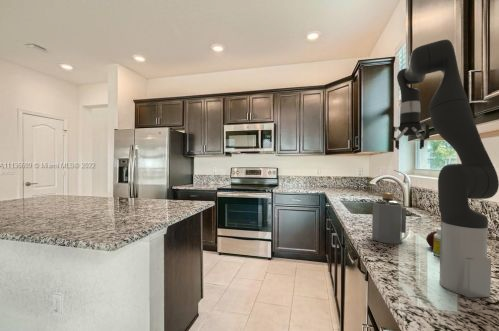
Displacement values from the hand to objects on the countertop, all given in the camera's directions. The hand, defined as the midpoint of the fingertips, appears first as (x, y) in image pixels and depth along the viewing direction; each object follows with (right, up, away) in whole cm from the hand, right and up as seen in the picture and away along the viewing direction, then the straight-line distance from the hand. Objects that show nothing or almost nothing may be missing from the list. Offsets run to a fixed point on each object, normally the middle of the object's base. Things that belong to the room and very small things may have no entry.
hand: (409, 149), depth 107 cm
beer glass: (-2, -40, +10) cm, 42 cm away
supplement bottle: (-1, -41, -20) cm, 45 cm away
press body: (-10, -40, -3) cm, 41 cm away
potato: (+3, -41, -12) cm, 43 cm away
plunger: (-12, -38, -3) cm, 40 cm away
